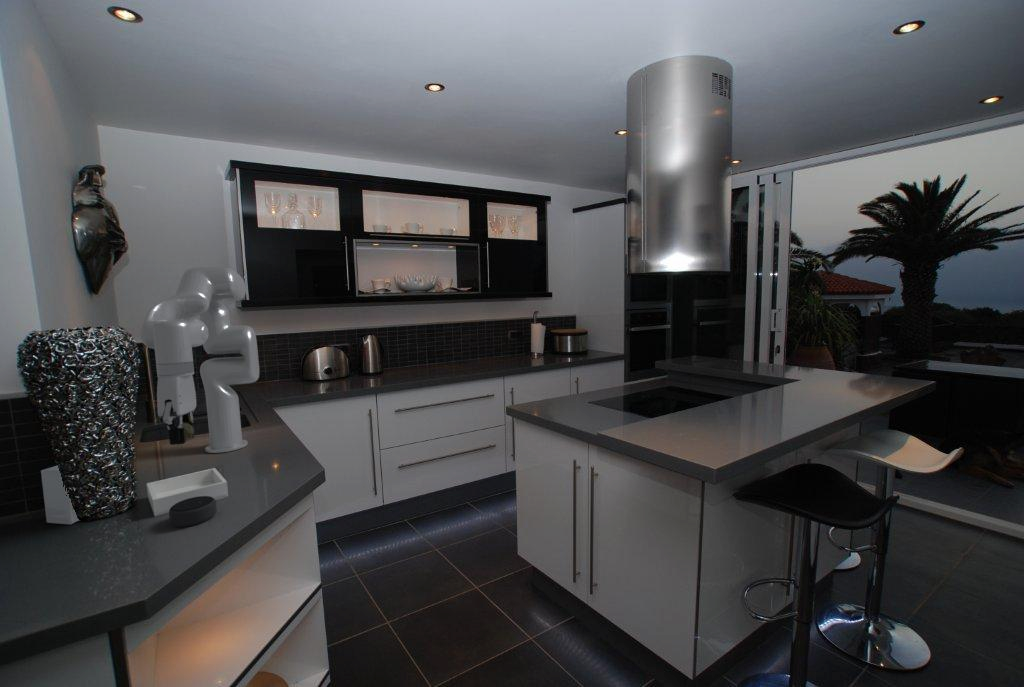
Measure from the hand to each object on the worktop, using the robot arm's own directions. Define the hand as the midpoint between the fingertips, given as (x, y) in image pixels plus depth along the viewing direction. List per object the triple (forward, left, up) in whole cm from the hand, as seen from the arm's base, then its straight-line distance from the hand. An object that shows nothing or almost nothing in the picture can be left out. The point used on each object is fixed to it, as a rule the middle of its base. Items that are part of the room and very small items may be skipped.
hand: (182, 440), depth 117 cm
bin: (0, 0, -15) cm, 15 cm away
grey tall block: (-7, -21, -15) cm, 27 cm away
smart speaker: (+16, -1, -15) cm, 22 cm away
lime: (0, 0, -1) cm, 1 cm away
